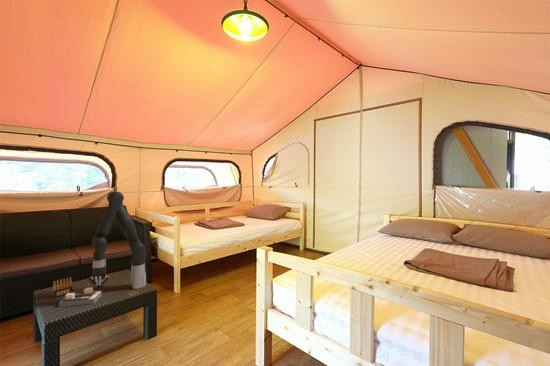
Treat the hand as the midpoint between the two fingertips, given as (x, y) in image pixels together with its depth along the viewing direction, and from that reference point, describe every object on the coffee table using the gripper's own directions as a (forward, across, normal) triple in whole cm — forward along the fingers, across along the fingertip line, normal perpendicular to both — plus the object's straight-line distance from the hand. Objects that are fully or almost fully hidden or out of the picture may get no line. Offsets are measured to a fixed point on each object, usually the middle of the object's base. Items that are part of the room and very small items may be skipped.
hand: (99, 290), depth 179 cm
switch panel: (+5, +10, +3) cm, 11 cm away
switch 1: (+2, +15, +6) cm, 16 cm away
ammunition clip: (+5, +26, -8) cm, 27 cm away
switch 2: (+2, +7, 0) cm, 7 cm away
